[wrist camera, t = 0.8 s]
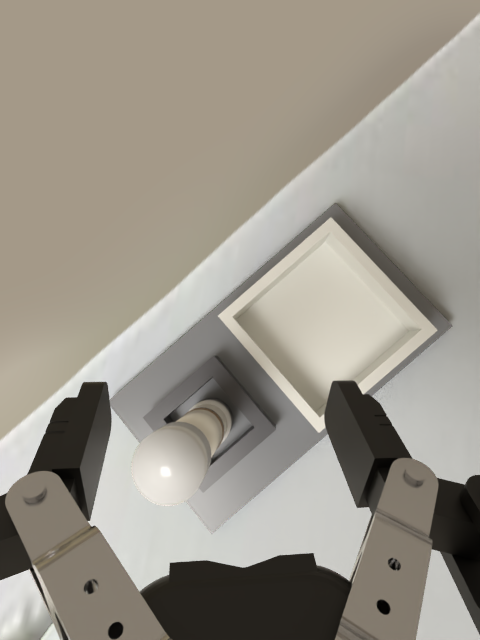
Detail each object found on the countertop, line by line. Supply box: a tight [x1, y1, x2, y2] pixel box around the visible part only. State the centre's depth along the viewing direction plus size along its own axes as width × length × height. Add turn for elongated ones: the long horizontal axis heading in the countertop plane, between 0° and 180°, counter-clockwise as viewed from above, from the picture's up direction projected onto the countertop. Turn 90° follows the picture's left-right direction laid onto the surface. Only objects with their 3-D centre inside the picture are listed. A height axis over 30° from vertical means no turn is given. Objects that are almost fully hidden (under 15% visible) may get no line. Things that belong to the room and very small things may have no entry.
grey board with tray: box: [109, 203, 452, 534], centre depth 32 cm, size 26×14×4 cm, turn 131°
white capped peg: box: [131, 398, 233, 506], centre depth 26 cm, size 4×4×14 cm
